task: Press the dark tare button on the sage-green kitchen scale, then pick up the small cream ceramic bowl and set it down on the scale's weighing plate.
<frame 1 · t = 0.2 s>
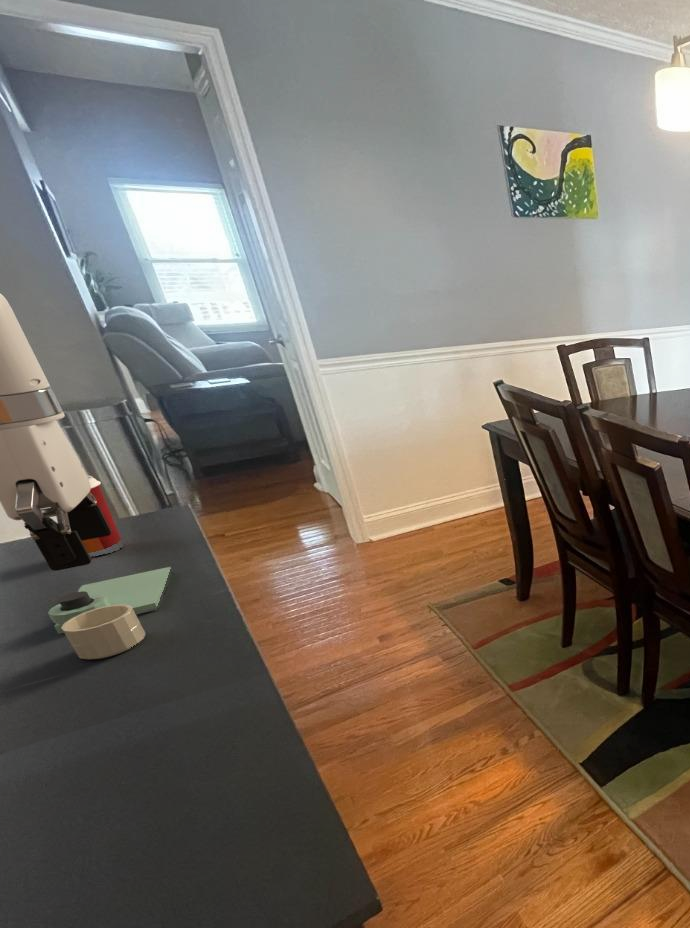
hand: (84, 551, 71), 18 cm above the table, tool pointing down, fingers open, 9 cm apart
scale: (121, 601, 95), on the table
paper cup: (103, 552, 113), on the table
tare button: (75, 601, 88), point 4 cm above the table, slide at 0.1 cm
bowl: (114, 647, 84), on the table
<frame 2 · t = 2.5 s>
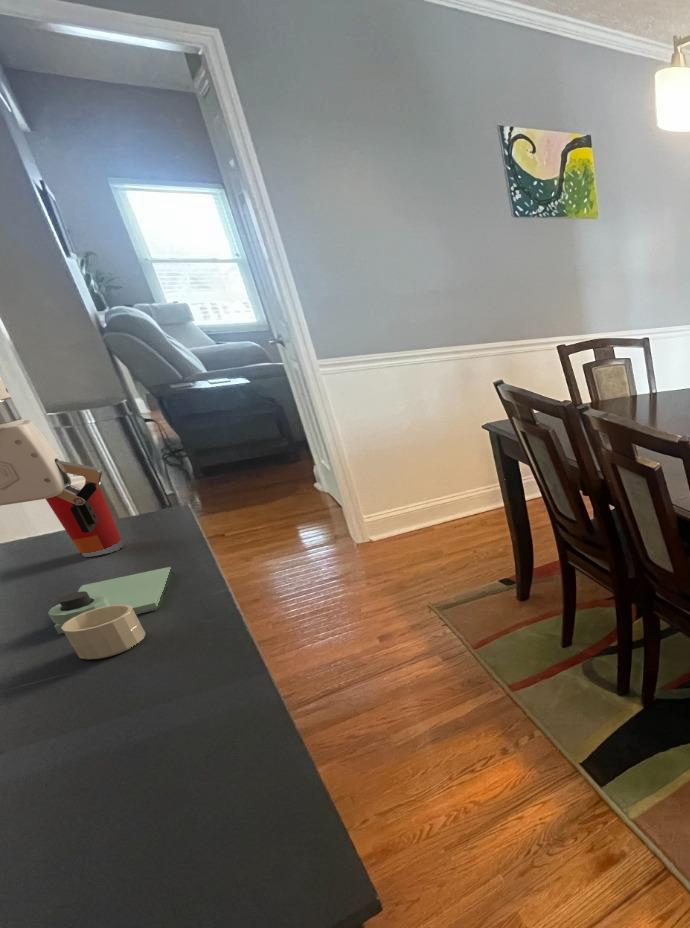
hand: (42, 537, 83), 14 cm above the table, tool pointing down, fingers open, 9 cm apart
nothing on the table moved.
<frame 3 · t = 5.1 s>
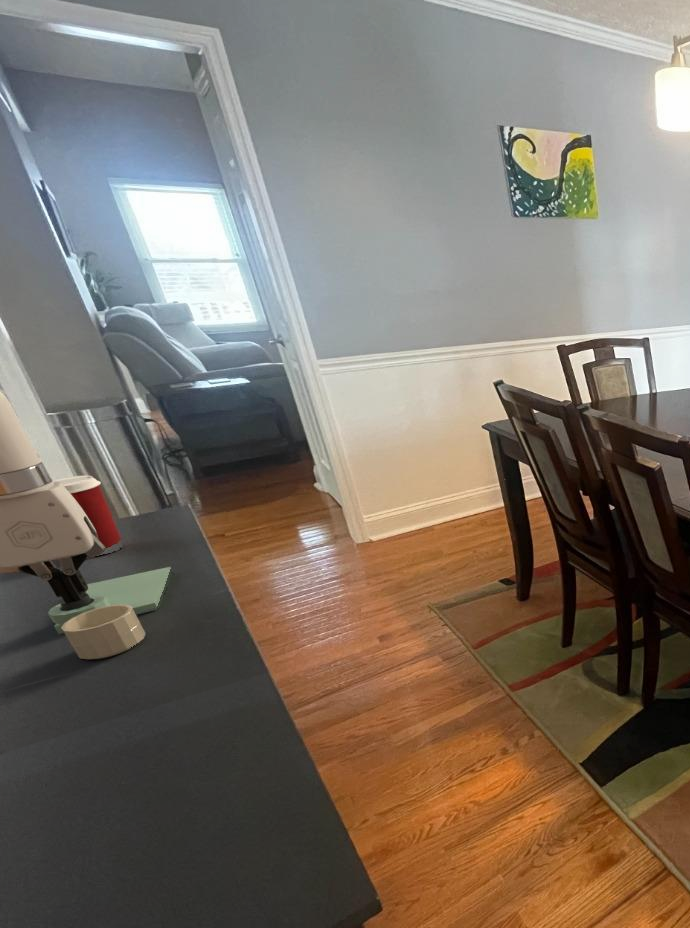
hand: (76, 597, 88), 4 cm above the table, tool pointing down, fingers closed
tare button: (76, 603, 89), point 3 cm above the table, slide at -0.2 cm, touching gripper
everything else where it was.
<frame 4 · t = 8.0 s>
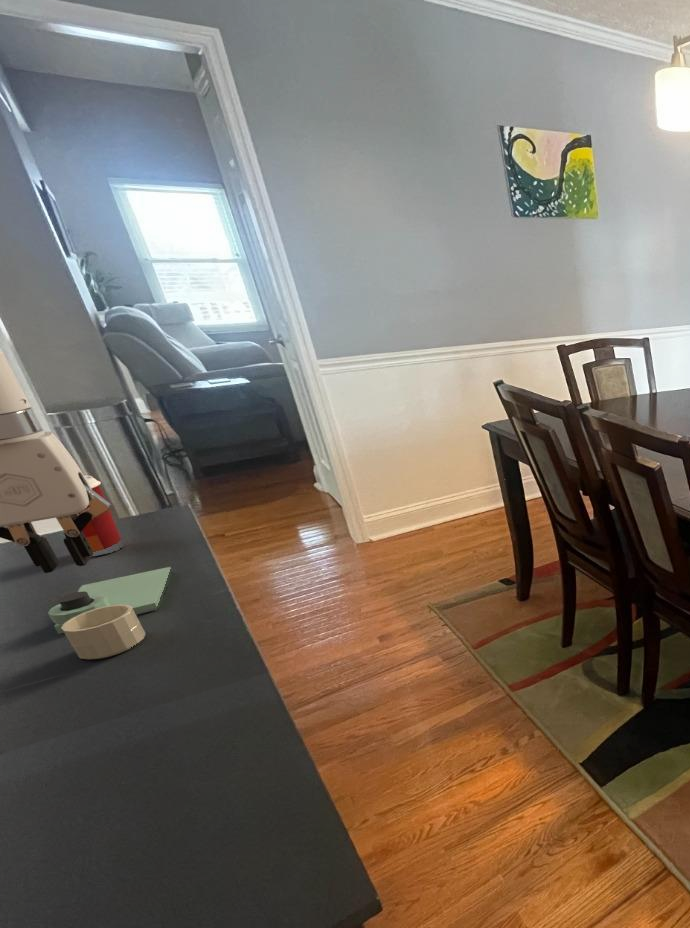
hand: (68, 564, 78), 13 cm above the table, tool pointing down, fingers closed
tare button: (75, 601, 88), point 3 cm above the table, slide at 0.1 cm
everything else where it was.
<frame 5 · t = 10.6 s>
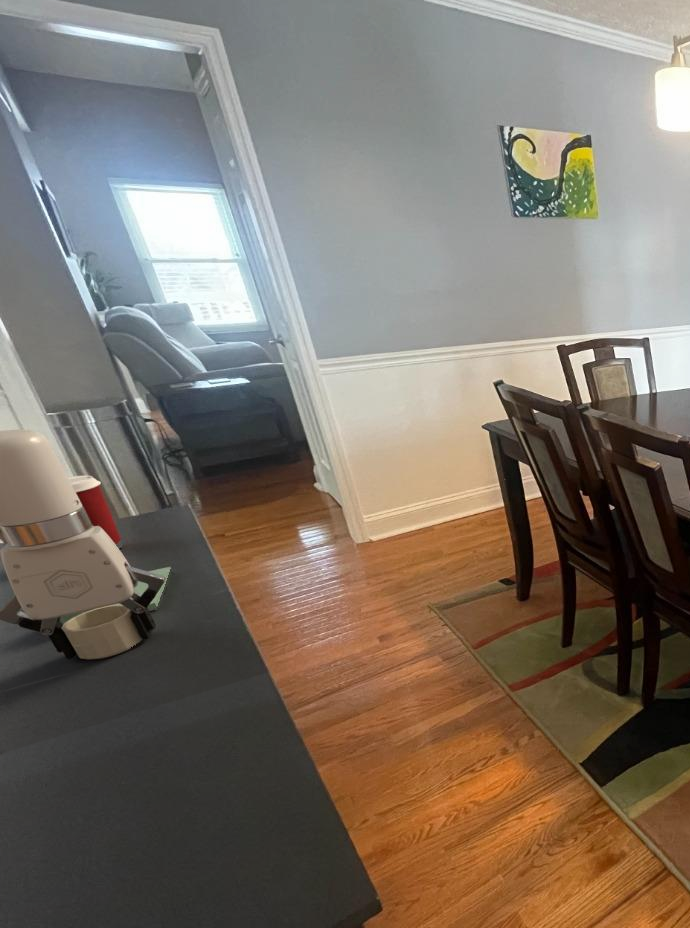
hand: (111, 642, 83), 1 cm above the table, tool pointing down, fingers closed on bowl, 6 cm apart
bowl: (114, 647, 84), on the table, touching gripper
everything else where it was.
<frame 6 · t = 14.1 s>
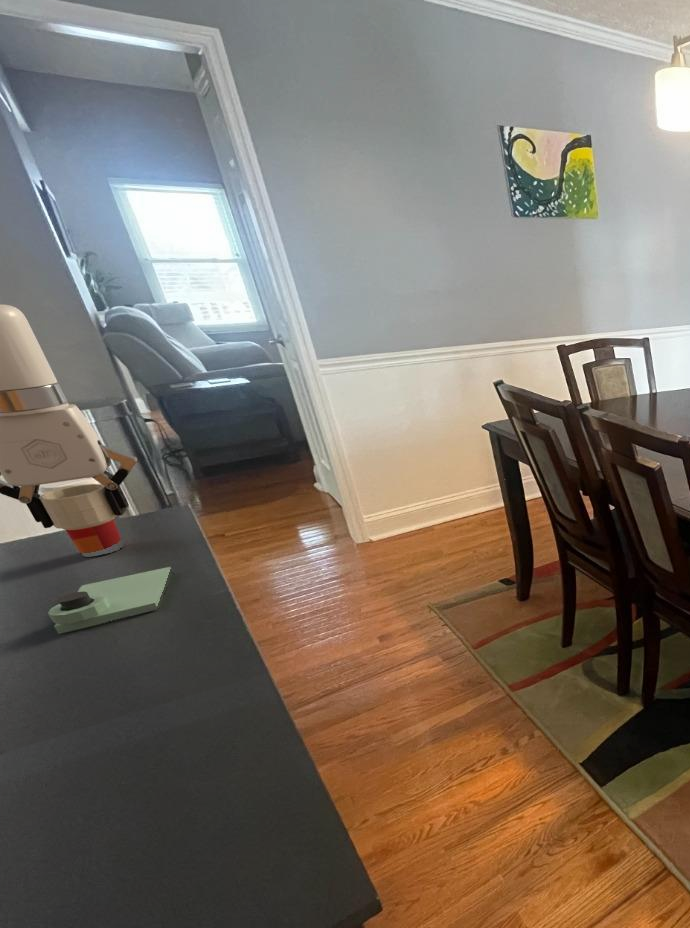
hand: (86, 517, 89), 15 cm above the table, tool pointing down, fingers closed on bowl, 6 cm apart
bowl: (89, 522, 89), point 14 cm above the table, touching gripper
everything else where it was.
when the fingers open (2 cm above the table, at t = 17.8 s): bowl stays where it is, resting on scale.
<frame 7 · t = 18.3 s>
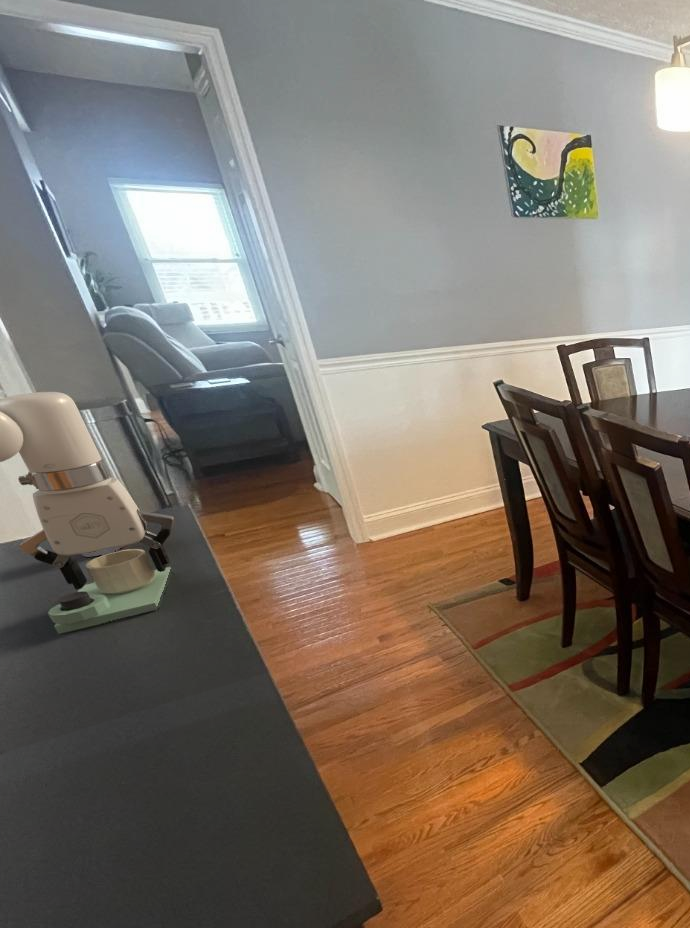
hand: (123, 577, 96), 3 cm above the table, tool pointing down, fingers open, 9 cm apart
bowl: (129, 585, 97), point 1 cm above the table, touching scale
everything else where it was.
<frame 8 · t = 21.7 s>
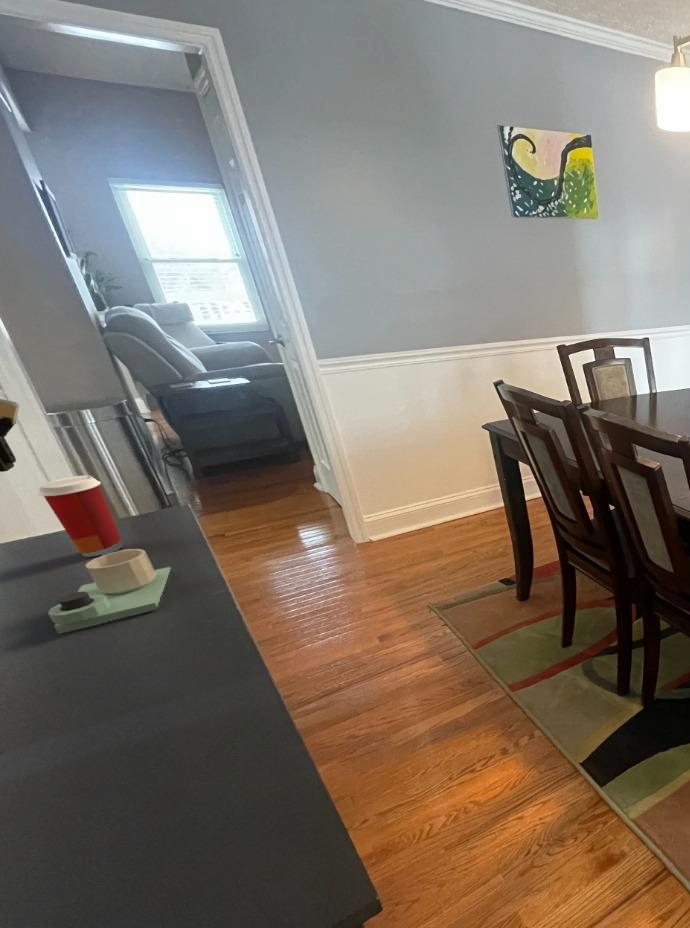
nothing on the table moved.
at the end: tare button pushed in 0.9 cm at the most during the clip, back to where it started at the end; bowl inside the target area on the scale (2.7 cm from its centre), point 1.4 cm above the scale's base; bowl touching scale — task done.
